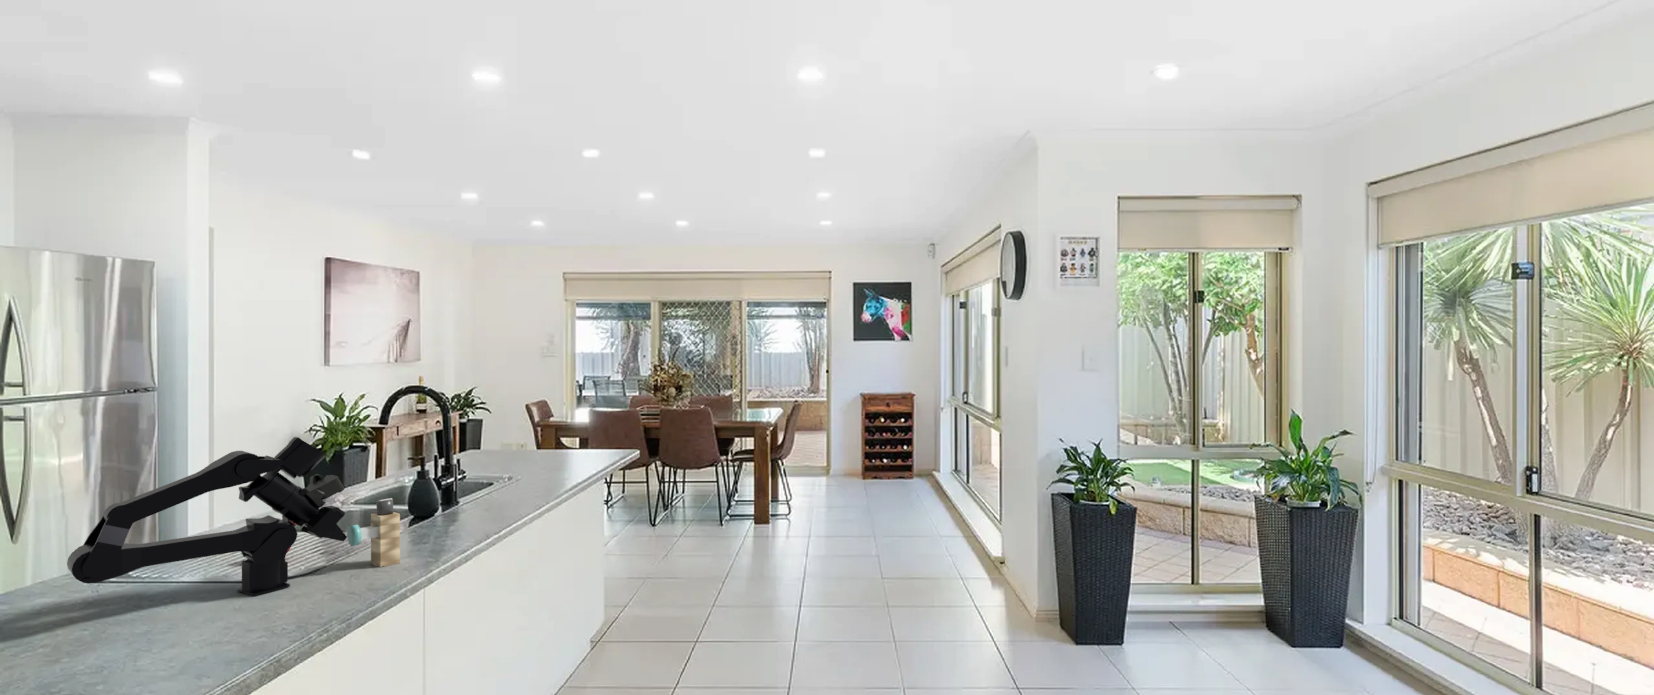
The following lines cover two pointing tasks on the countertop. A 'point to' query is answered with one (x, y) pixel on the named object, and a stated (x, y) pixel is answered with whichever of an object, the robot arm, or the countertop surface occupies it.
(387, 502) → the dial
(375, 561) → the mount
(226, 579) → the countertop surface
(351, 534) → the knob
